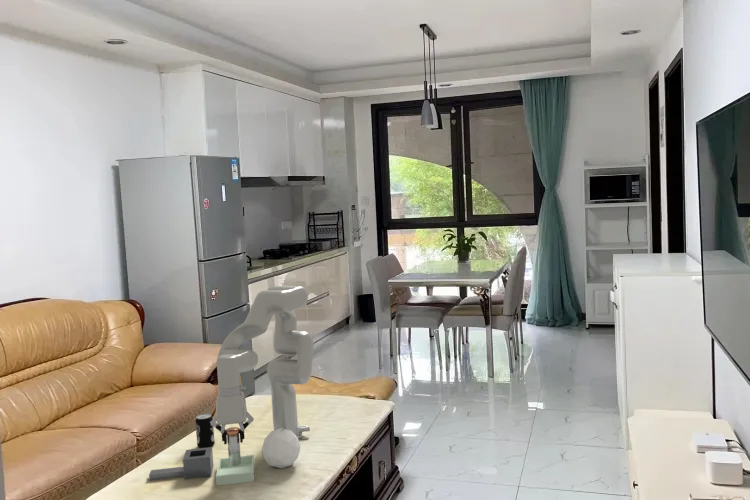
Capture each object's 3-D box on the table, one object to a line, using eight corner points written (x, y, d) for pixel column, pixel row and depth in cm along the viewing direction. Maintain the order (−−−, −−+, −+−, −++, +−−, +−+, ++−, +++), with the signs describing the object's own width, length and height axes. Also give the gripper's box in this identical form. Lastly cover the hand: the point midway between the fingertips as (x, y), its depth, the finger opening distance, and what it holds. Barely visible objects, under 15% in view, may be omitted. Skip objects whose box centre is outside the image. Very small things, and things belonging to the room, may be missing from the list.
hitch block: (213, 465, 237) (212, 447, 236) (211, 476, 228) (209, 456, 227) (152, 472, 234) (151, 453, 233) (148, 483, 225) (146, 463, 224)
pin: (242, 460, 231) (240, 426, 230) (241, 465, 226) (239, 431, 225) (228, 461, 230) (226, 427, 229) (227, 467, 226) (225, 432, 225)
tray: (219, 467, 235) (219, 458, 235) (254, 463, 237) (254, 454, 237) (216, 485, 220) (215, 476, 220) (253, 481, 222) (252, 472, 222)
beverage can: (210, 449, 253) (207, 419, 251) (194, 449, 254) (192, 418, 253) (217, 442, 259) (215, 413, 258) (202, 442, 260) (199, 412, 259)
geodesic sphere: (267, 439, 244) (261, 418, 235) (304, 438, 244) (299, 417, 235) (263, 475, 234) (256, 455, 224) (301, 474, 233) (296, 453, 224)
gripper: (255, 385, 231) (258, 435, 233) (205, 389, 229) (209, 440, 230) (254, 391, 224) (258, 443, 225) (203, 396, 221) (207, 448, 223)
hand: (233, 441), depth 228 cm, fingers closed on pin, 4 cm apart
